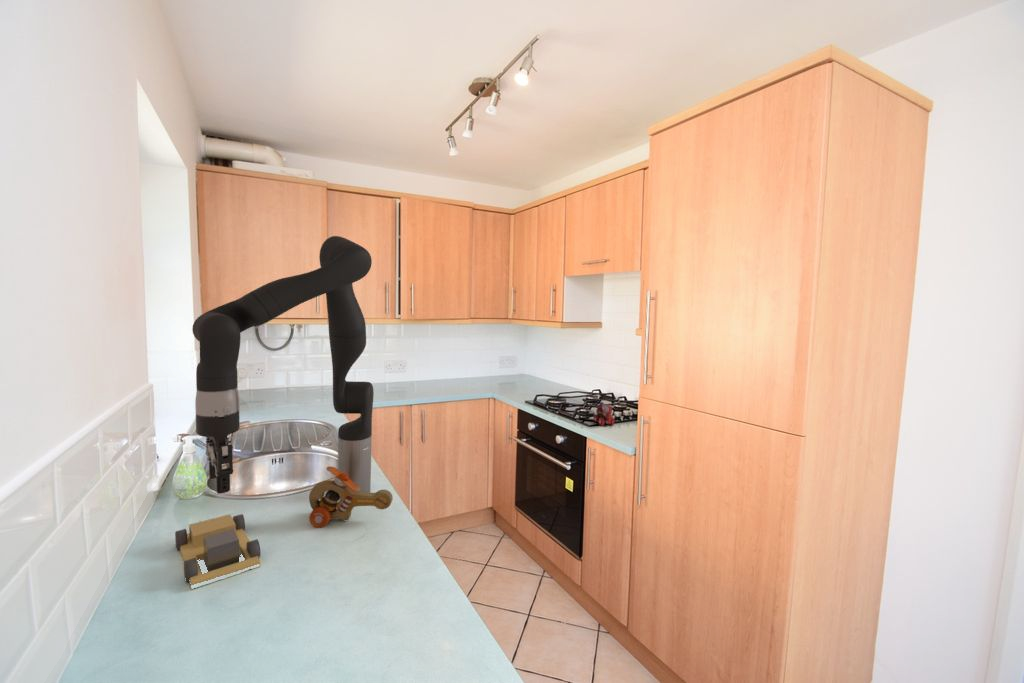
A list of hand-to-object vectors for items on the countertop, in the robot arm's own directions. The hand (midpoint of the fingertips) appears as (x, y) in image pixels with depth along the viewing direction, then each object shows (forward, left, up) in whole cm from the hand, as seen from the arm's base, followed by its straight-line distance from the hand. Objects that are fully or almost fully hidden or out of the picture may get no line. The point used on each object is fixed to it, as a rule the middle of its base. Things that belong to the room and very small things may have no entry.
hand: (219, 484), depth 93 cm
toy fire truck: (-17, +162, -18) cm, 164 cm away
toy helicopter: (-2, +28, -18) cm, 33 cm away
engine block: (0, 0, -17) cm, 17 cm away
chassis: (-5, 0, -18) cm, 18 cm away
